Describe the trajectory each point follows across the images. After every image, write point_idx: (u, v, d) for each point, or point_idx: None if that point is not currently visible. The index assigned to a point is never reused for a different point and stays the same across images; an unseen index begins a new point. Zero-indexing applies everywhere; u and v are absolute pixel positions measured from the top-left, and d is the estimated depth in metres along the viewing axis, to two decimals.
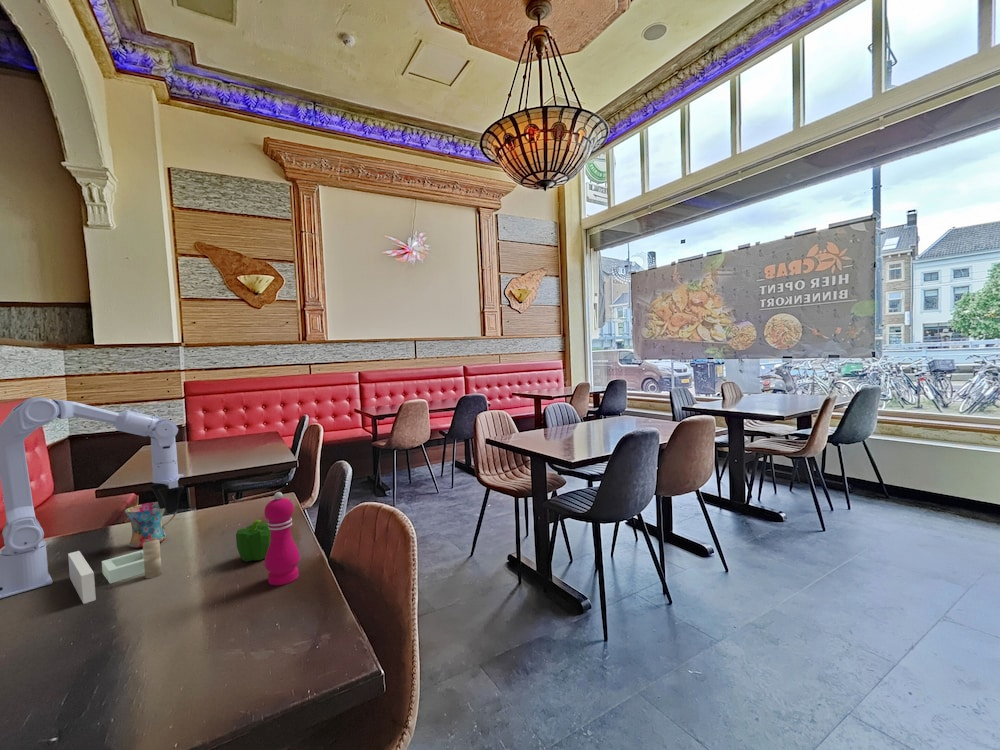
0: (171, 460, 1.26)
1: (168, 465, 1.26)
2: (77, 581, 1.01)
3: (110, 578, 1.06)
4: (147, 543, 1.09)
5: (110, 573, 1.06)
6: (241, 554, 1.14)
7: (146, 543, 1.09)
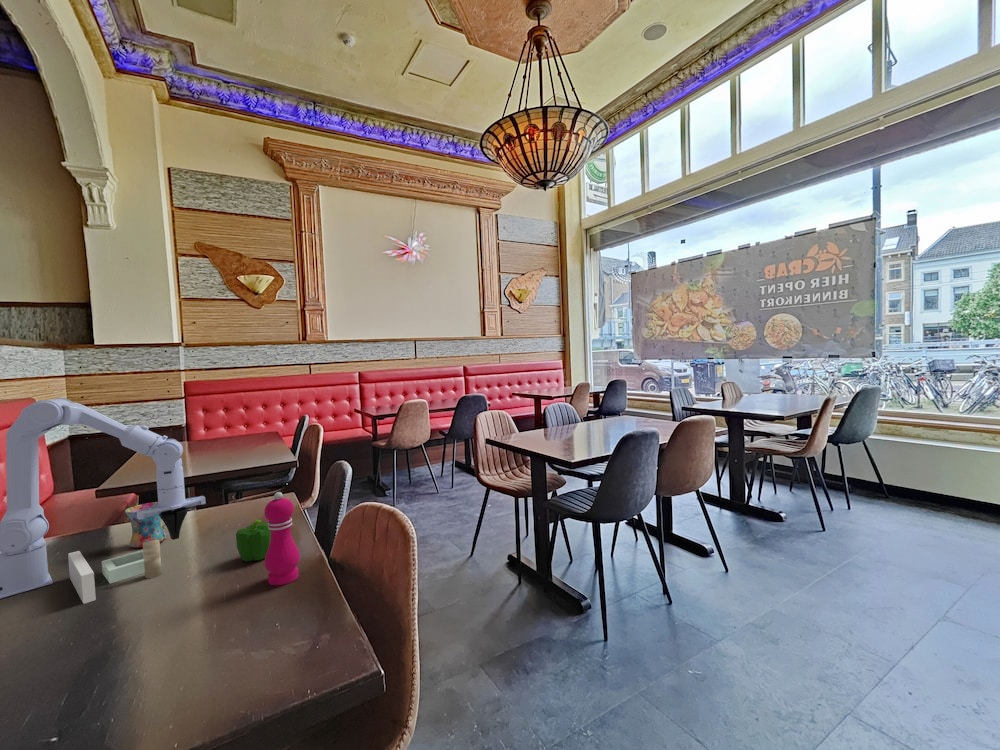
0: (173, 486, 1.17)
1: (158, 492, 1.17)
2: (77, 581, 1.01)
3: (110, 578, 1.06)
4: (147, 543, 1.09)
5: (110, 573, 1.06)
6: (241, 554, 1.14)
7: (146, 543, 1.09)
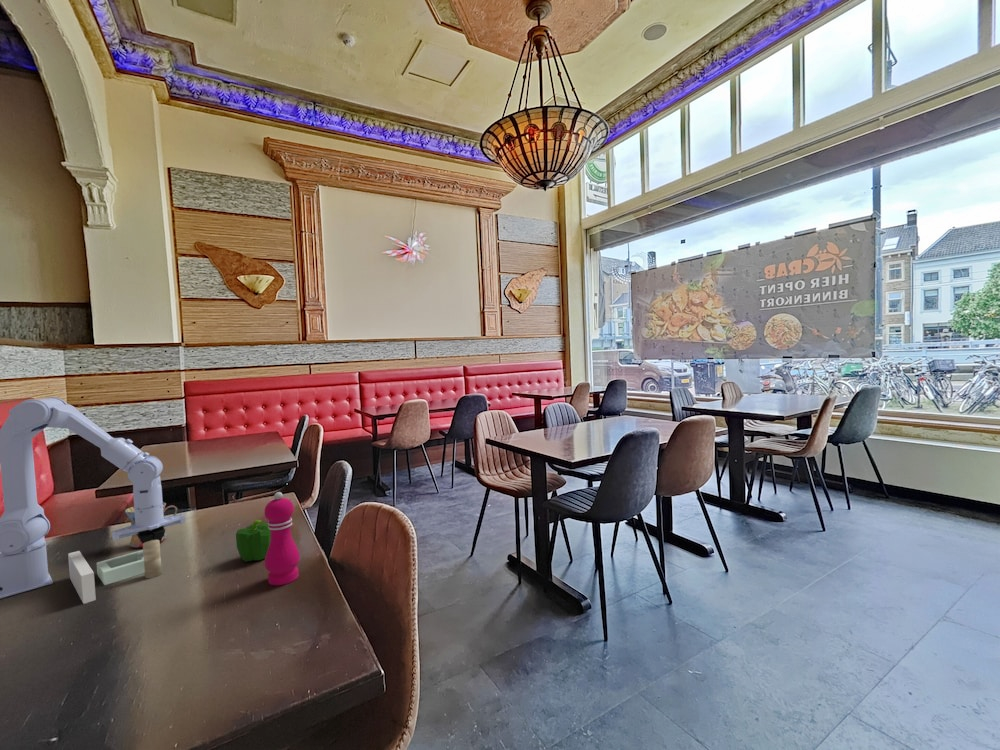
0: (149, 506, 1.13)
1: (135, 512, 1.13)
2: (77, 581, 1.01)
3: (105, 580, 1.06)
4: (147, 543, 1.09)
5: (105, 575, 1.06)
6: (241, 554, 1.14)
7: (146, 543, 1.09)
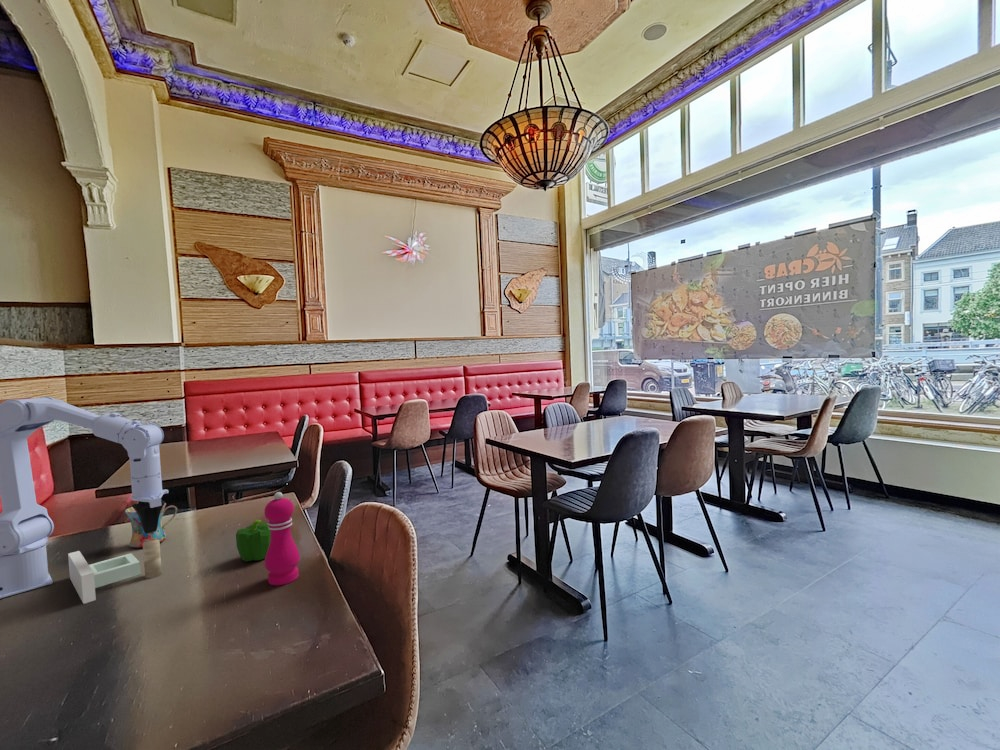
0: (142, 476, 1.06)
1: (150, 480, 1.07)
2: (77, 581, 1.01)
3: None
4: (147, 543, 1.09)
5: None
6: (241, 554, 1.14)
7: (146, 543, 1.09)
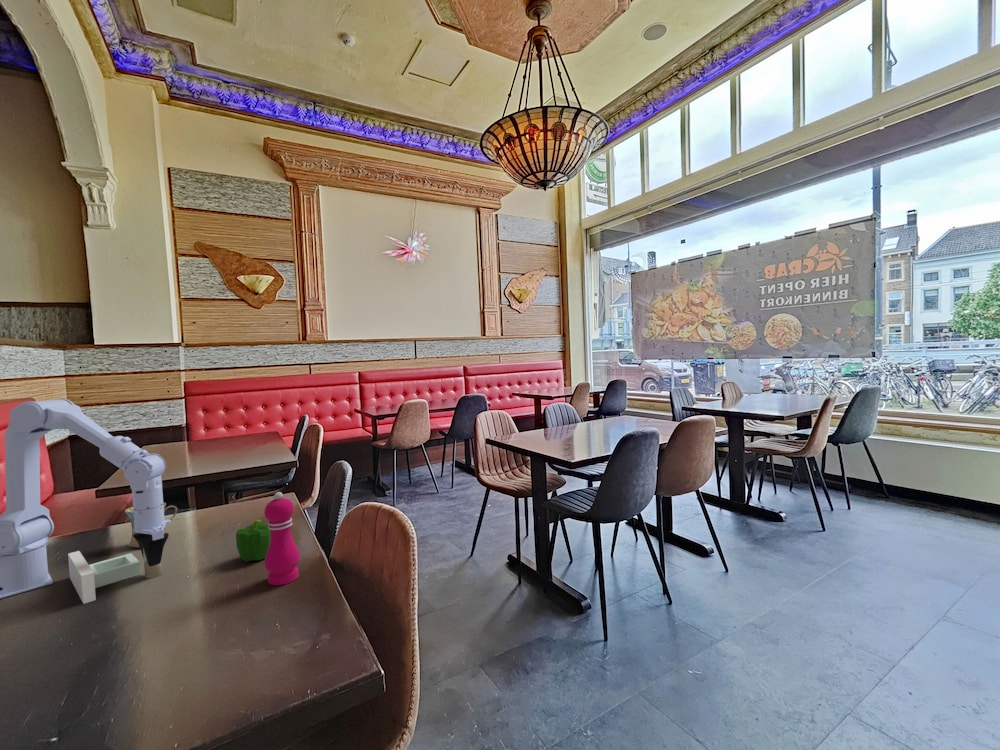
0: (145, 507, 1.06)
1: (152, 511, 1.07)
2: (77, 581, 1.01)
3: None
4: None
5: None
6: (241, 554, 1.14)
7: None
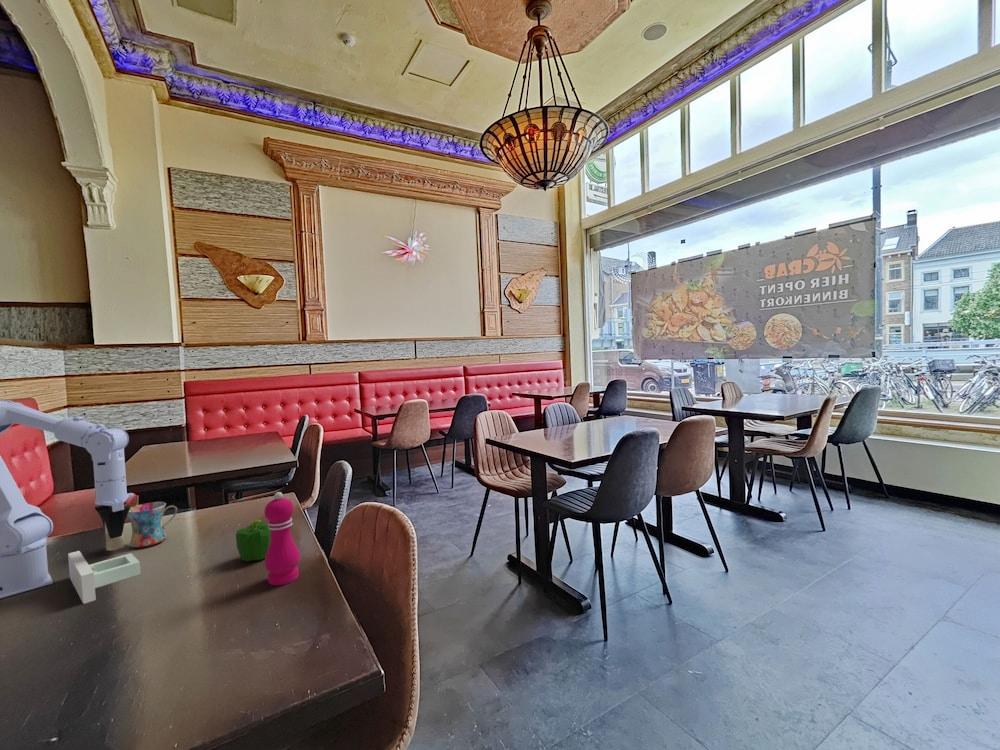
0: (107, 479, 1.07)
1: (113, 483, 1.08)
2: (77, 581, 1.01)
3: None
4: None
5: None
6: (241, 554, 1.14)
7: None
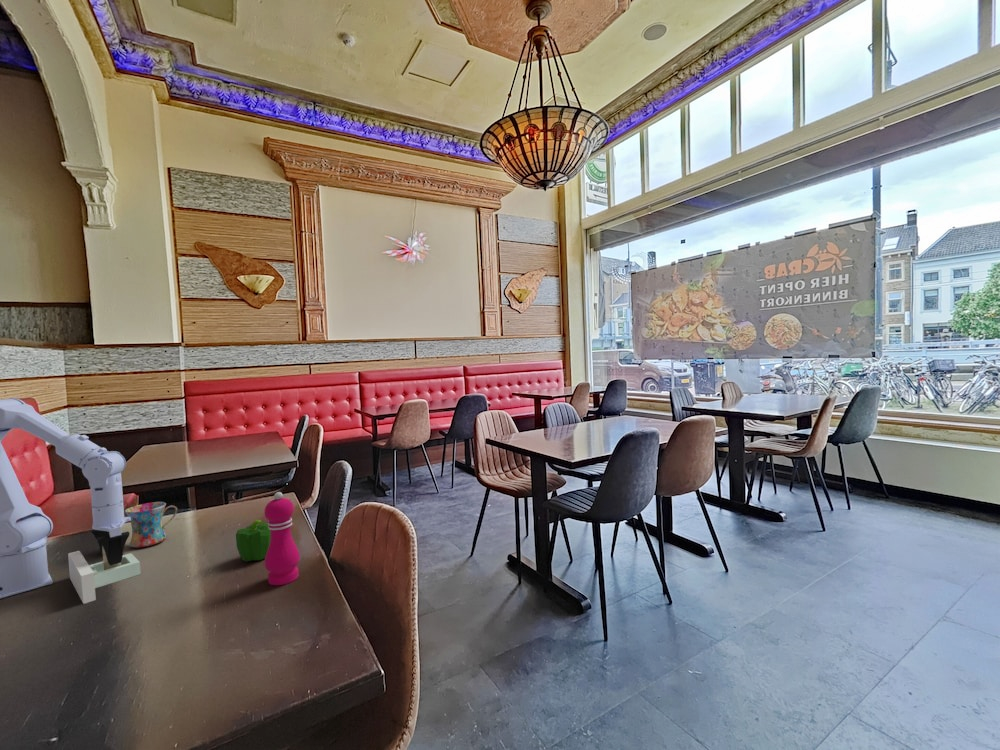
0: (104, 504, 1.07)
1: (111, 508, 1.08)
2: (77, 581, 1.01)
3: None
4: None
5: None
6: (241, 554, 1.14)
7: None
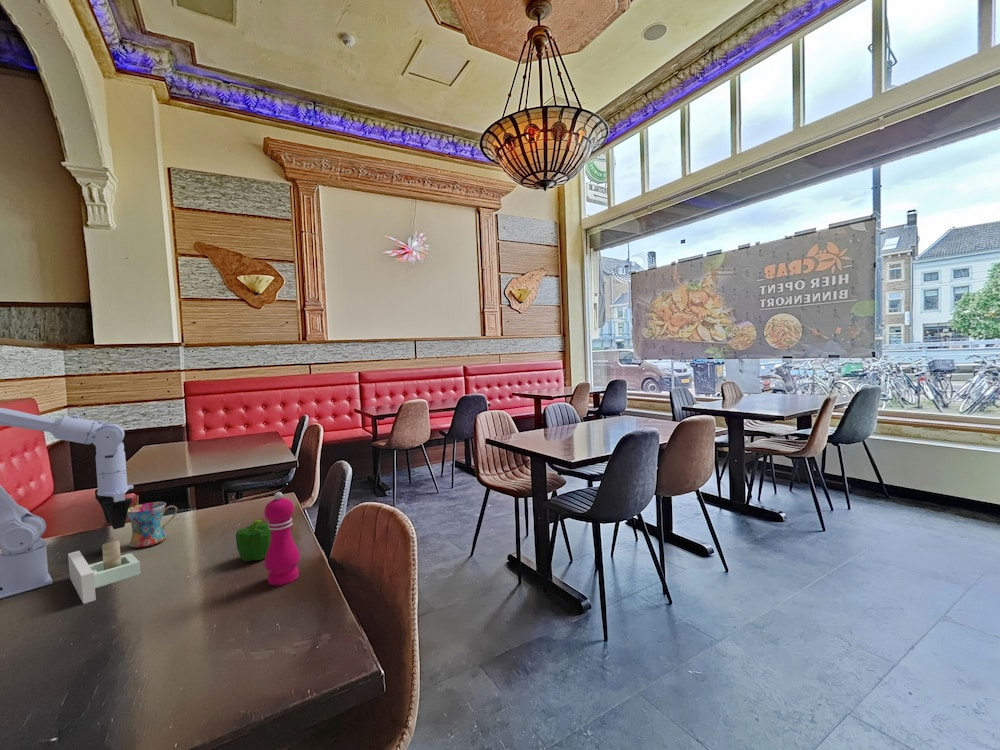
0: (115, 471, 1.14)
1: (115, 476, 1.14)
2: (77, 581, 1.01)
3: None
4: (106, 544, 1.09)
5: None
6: (241, 554, 1.14)
7: (105, 544, 1.09)
